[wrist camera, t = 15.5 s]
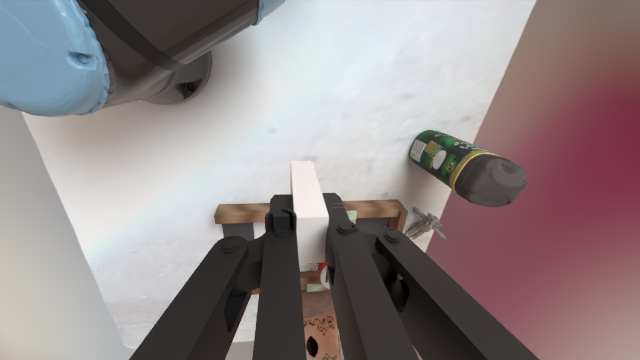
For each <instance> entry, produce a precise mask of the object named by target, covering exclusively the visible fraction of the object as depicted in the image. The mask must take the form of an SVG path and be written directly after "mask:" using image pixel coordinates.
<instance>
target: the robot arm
mask: <svg viewBox="0 0 640 360" xmlns="http://www.w3.org/2000/svg"><path fill="white" fill-rule="evenodd" d="M284 1H285V0H0V105H3V106H6V107H8V108H11V109H18V110H20V111H24V112H26V113H29V114H32V115H38V116H48V117H56V116H66V115H86V114H88V113H93V112H95V111H97V110H99V109H102V108H107V107H111V106H115V105H119V104H123V103H127V102H132V101H136V100H140V99H142V100H145V101H148V102H151V103H156V104H177V103H180V102H184V101H186V100H189V99H191V98H193V97H195V96H196V95H197V94H199V93H200V92H201V91H202V89H203V88H204V87H205V85H206V83H207V81H208V79H209V76H210V72H211V52H210V50H211V49H213V48H214V47H216V46H218V45H219V44H221V43H223V42H224V41H226V40H228V39H229V38H231V37H232V36H234V35H236V34H237V33H239V32H241V31H242V30H244V29H246V28H247V27H249V26H251V25H252V26H256V25H258V24H259V22H260V21H261V20H262V18H264V17H265V16H266V15H268V14H269V13H271V12H272V11H274V10H275V9H277V8H278V7H280V6H281V5H282V4H283V3H284ZM265 230H266V232H265V234H263V235H262V236H261V237H259V238H257V239H254V240H251V241H247V240H246V239H245V238H243V237H241V236H228V237H224V238H223V239H221V240H219V241H218V242H217V243H216V244H214V246H213V247H212V248H211V250H210V251H209V252H208V254H207V255H206V257H205V258H204V259H203V261H202V262H201V263H200V265H199V266H198V267H197V269H196V270H195V271H194V273H193V274H192V275H191V277H190V278H189V280H188V281H187V282H186V284H185V285H184V286H183V288H182V289H181V290H180V292H179V293H178V294H177V296H176V297H175V298H174V300H173V301H172V303H171V304H170V305H169V307H168V308H167V309H166V311H165V312H164V313H163V315H162V316H161V317H160V319H159V320H158V321H157V323H156V324H155V325H154V327H153V328H152V330H151V331H150V332H149V334H148V335H147V336H146V338H145V339H144V340H143V342H142V343H141V344H140V346H139V347H138V348H137V350H136V351H135V353H134V354H133V355H132V357H131V358H130V359H129V360H225V358H226V355H227V353H228V350H229V348H230V345H231V343H232V341H233V338H234V336H235V333H236V331H237V328H238V326H239V324H240V321H241V319H242V316H243V314H244V311H245V309H246V307H247V304H248V302H249V299H250V297H251V294H252V290H255V289H258V288H260V292H259V302H258V311H257V321H256V331H255V340H254V350H253V359H252V360H307V356H306V344H305V331H304V319H303V306H302V294H301V282H300V269H299V264H308V263H323V262H325V255H326V259H327V269H326V280H325V283H327V282H328V281H329V286H330V291H331V296H332V301H333V306H334V310H335V315H336V320H337V325H338V330H339V335H340V340H341V345H342V349H343V355H344V359H345V360H419V358H418V356H417V354H416V352H415V350H414V348H413V346H414V347H415V349H416V350H417V352H418V353H419V355H420V356H421V358H422V359H423V360H539V359H538V358H537V357H536V356H535V355H534V354H533V353H532V352H531V351H530V350H529V349H527V348H526V347H525V346H524V345H523V344H522V343H521V342H520V341H519V340H518V339H517V338H516V337H515V336H513V335H512V334H511V333H510V332H509V331H508V330H507V329H506V328H505V327H504V326H503V325H501V323H499V322H498V321H497V320H496V319H495V318H494V317H493V316H492V315H491V314H490V313H489V312H488V311H487V310H485V309H484V308H483V307H482V306H481V305H480V304H479V303H478V302H477V301H476V300H475V299H473V298H472V296H470V295H469V294H468V293H467V292H466V291H465V290H464V289H463V288H462V287H461V286H460V285H459V284H457V283H456V282H455V281H454V280H453V279H452V278H451V277H450V276H449V275H448V274H447V273H446V272H445V271H444V270H442V269H441V268H440V267H439V266H438V265H437V264H436V263H435V262H434V261H433V260H432V259H431V258H430V257H428V256H427V255H426V254H425V253H424V252H423V251H422V250H421V249H420V248H419V247H418V246H417V245H416V244H414V243H413V242H412V241H411V240H410V239H409V238H408V237H407V236H406V235H405V234H404V233H402V232H401V231H399V230H397V229H394V228H382V229H380V230H379V231H378V232H377V235H375V234H369V233H365V232H362V231H360V230H359V228H358V226H357V225H356V224H354V223H353V222H351V221H350V219H349V217H348V214H347V212H346V210H345V208H344V205H343V204H342V200H341V198H340V197H339V196H338V195H337V194H336V193H322V192H321V188H320V185H319V182H318V178H317V175H316V172H315V168H314V165H313V162H312V161H291V195H274V196H273V198H272V199H271V201H270V211H269V212H268V213H266V215H265ZM412 345H413V346H412Z"/></svg>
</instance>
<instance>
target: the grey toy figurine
mask: <svg viewBox="0 0 640 360" xmlns="http://www.w3.org/2000/svg"><path fill="white" fill-rule="evenodd" d="M413 209H415V212H416V213H418V214H419V215H420V217H421V218H422V219H423V220H420V221H419V222H418V224H417V225H416V226H414V227H413V228H412V229H410V230H408V231H407V232H406V234H407V235H410V234H411V233H413V232H414V231H416V230H417V229H420V231H418V232H417V233H415V234H414V235H412V236H411V238H412V239H413V240H414V239H415V238H417V237H418V236H420V235H421V234H423V233H424V232H428V231H430V229H433V230H435V231H436V232H437V233H438V234H439V235H440V238H441V237H443V238H444V239H446V238H445V236H444V234H442V233H441V232H439V230H438V228H437V227H442V225H441V224H440V223H439V222H438V220H439V219H438V218H437V217H436V216H432V215H431V214H430V213H428V216H426V215H424V214H423V213H421V212H420V211H419V210H418V209H417V208H416V207H413Z"/></svg>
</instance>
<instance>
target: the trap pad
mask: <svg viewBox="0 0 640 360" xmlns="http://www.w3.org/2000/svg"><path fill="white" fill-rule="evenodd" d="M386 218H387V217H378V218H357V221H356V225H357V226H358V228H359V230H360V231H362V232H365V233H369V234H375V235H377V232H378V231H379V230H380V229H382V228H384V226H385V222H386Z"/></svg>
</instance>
